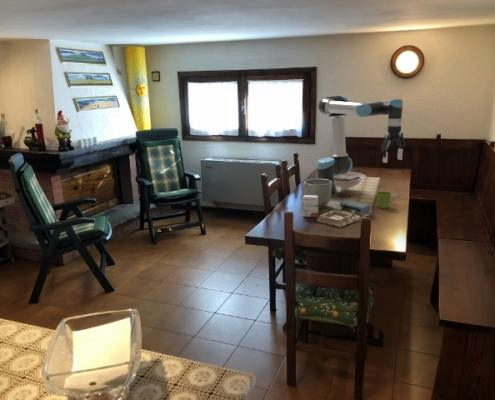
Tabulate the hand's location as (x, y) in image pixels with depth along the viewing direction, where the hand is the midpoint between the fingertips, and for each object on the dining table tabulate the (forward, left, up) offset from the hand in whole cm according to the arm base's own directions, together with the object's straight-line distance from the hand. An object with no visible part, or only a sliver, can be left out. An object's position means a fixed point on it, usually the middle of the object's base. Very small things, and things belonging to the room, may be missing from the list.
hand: (392, 160), depth 250 cm
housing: (-3, -33, -25) cm, 41 cm away
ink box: (-20, -52, -27) cm, 62 cm away
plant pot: (+2, -11, -27) cm, 29 cm away
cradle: (-3, -43, -26) cm, 51 cm away
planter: (-28, -36, -27) cm, 53 cm away
